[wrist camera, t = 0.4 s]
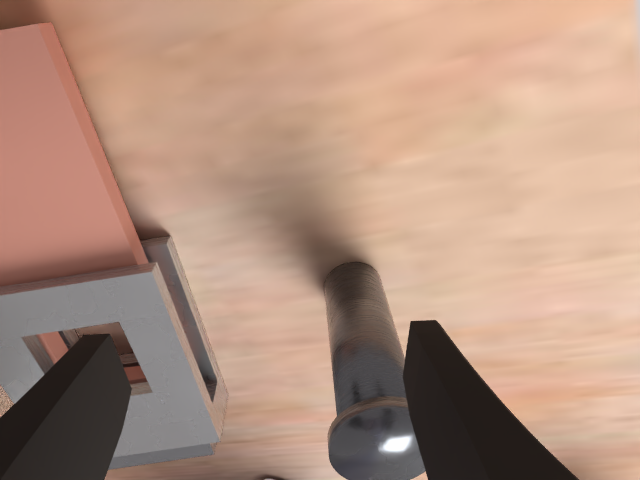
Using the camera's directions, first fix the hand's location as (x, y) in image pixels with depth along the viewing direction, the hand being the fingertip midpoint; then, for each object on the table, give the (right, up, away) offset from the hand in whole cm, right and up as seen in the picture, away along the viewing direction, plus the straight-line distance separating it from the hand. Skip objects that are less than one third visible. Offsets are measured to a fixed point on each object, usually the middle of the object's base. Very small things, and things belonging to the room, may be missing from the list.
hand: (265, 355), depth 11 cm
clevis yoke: (-9, -3, +14) cm, 17 cm away
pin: (+3, 0, +12) cm, 13 cm away
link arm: (-10, +3, +10) cm, 15 cm away
